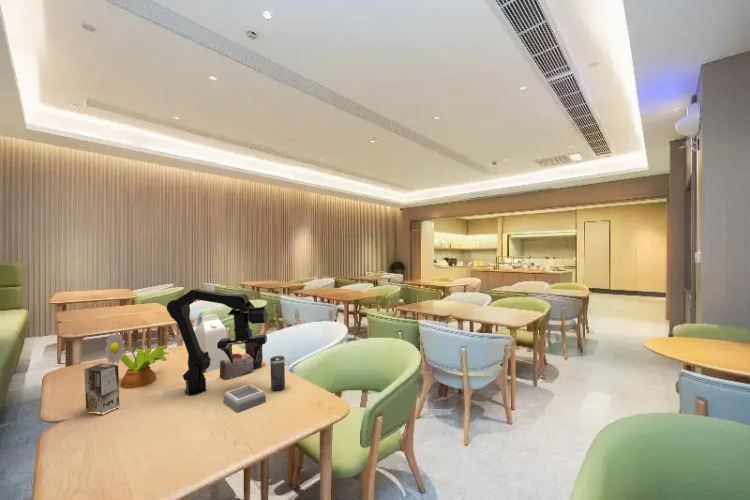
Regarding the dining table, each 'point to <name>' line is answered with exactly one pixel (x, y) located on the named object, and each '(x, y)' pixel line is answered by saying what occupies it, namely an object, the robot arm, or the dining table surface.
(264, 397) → the shallow square tray
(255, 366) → the camera lens
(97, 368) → the coffee box
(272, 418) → the dining table surface
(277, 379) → the dark tapered cup
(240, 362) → the weathered brick
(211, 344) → the milk
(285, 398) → the dining table surface
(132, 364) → the decorative plant
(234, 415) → the dining table surface
